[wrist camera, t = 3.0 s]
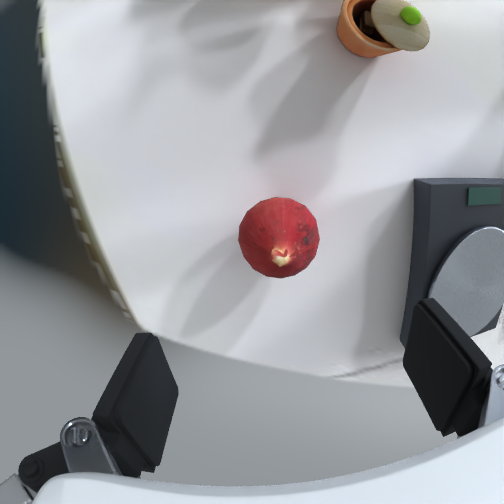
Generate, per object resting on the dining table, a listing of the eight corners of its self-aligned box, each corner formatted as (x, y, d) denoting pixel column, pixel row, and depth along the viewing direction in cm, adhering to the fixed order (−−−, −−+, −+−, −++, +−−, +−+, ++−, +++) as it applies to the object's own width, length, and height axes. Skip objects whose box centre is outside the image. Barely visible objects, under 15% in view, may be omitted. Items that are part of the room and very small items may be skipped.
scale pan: (435, 231, 21) (438, 233, 20) (520, 221, 20) (523, 223, 19) (415, 349, 25) (417, 353, 25) (496, 323, 24) (499, 326, 24)
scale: (413, 178, 22) (431, 184, 19) (505, 178, 21) (524, 184, 18) (399, 339, 29) (409, 357, 26) (484, 316, 28) (496, 328, 25)
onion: (301, 182, 23) (321, 201, 16) (316, 246, 25) (338, 289, 18) (233, 200, 24) (221, 227, 16) (252, 262, 26) (249, 311, 18)
